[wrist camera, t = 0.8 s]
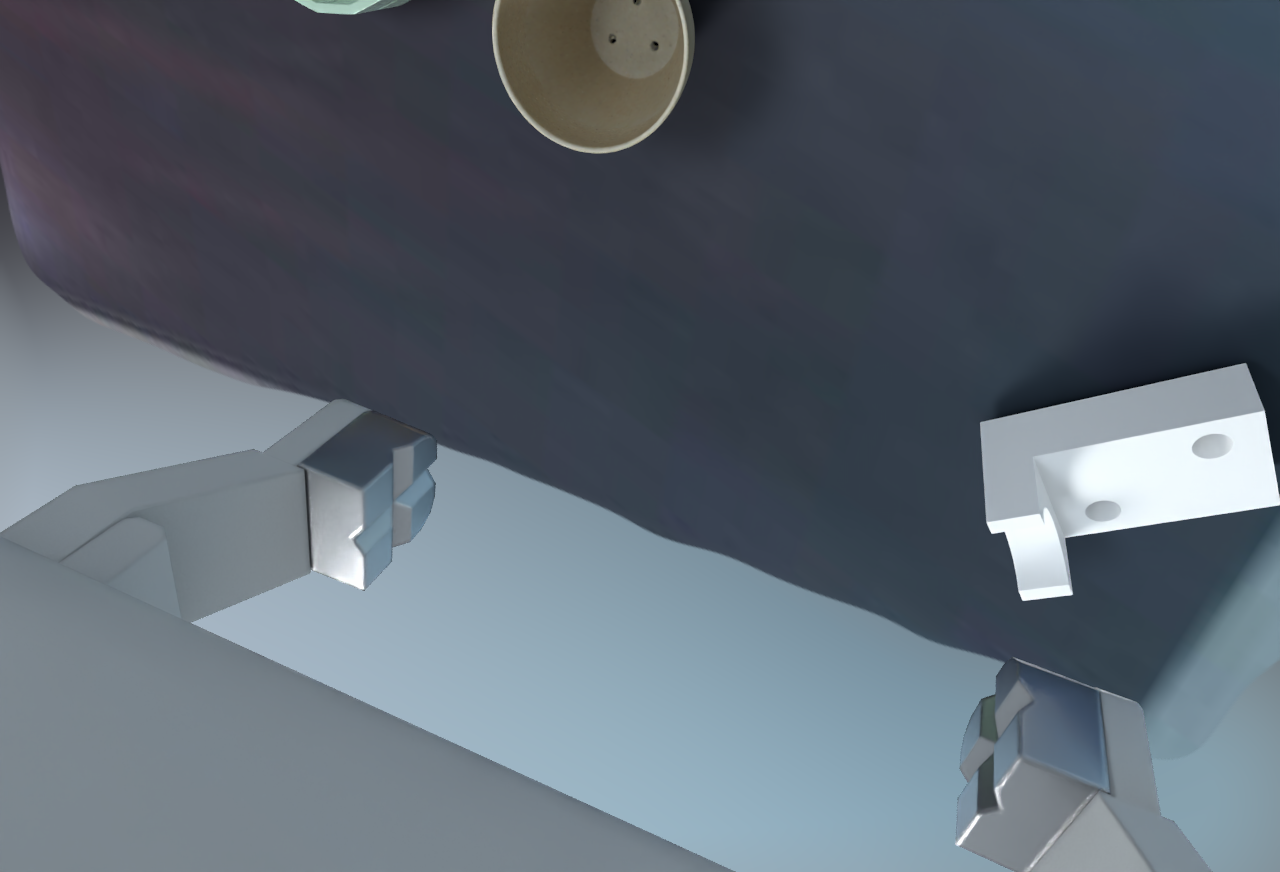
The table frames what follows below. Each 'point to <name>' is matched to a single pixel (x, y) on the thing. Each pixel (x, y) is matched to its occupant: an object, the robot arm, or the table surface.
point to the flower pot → (594, 66)
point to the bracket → (1123, 467)
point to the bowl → (349, 5)
